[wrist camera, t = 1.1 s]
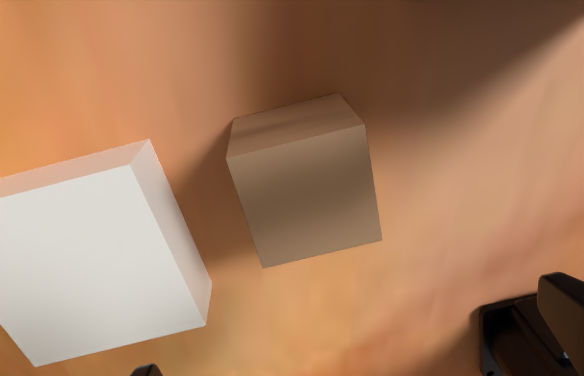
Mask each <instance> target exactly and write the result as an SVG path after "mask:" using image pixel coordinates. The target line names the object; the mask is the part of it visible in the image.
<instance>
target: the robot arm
mask: <svg viewBox="0 0 584 376" xmlns="http://www.w3.org/2000/svg"><path fill="white" fill-rule="evenodd" d="M479 328H480V372H481V374H482V375H483V376H584V282H583V281H581V280H579V279H576V278H574V277H572V276H569V275H567V274H565V273H562V272H554V273H549V274H545V275H542V276H540V278H539V281H538V294H535V295H531V296H526V297H522V298H518V299H513V300H509V301H505V302H500V303H496V304H491V305H487V306H484V307H483V308H482V309H481V310H480V312H479ZM130 376H163V375H162V373H161V371H160V370H159V368H158V366H157V365H156V364H147V365H143V366H139V367H137V368H136V369H135V370H134V371H133V372H132V373H131V375H130Z"/></svg>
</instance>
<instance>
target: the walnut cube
mask: <svg viewBox="0 0 584 376" xmlns="http://www.w3.org/2000/svg"><path fill="white" fill-rule="evenodd" d="M226 161H227V164H228V167H229V170H230V173H231V176H232V179H233V182H234V185H235V188H236V191H237V194H238V197H239V200H240V203H241V206H242V209H243V212H244V215H245V218H246V221H247V224H248V227H249V230H250V233H251V236H252V239H253V242H254V245H255V248H256V251H257V254H258V257H259V260H260V263H261V266H262V269H263V268H267V267H271V266H276V265H280V264H284V263H288V262H293V261H297V260H301V259H305V258H309V257H314V256H318V255H322V254H326V253H331V252H335V251H339V250H343V249H348V248H352V247H356V246H360V245H364V244H369V243H373V242H377V241H381V240H382V234H381V228H380V221H379V214H378V208H377V201H376V194H375V188H374V181H373V174H372V168H371V161H370V155H369V148H368V141H367V135H366V128H365V124H364V122H363V121H362V120H361V119H360V118H359V116H358V115H357V114H356V113H355V111H354V110H353V109H352V108H351V107H350V105H349V104H348V103H347V102H346V101H345V99H344V98H343V97H342V96H341V94H340V93H339V92H338V93H334V94H330V95H326V96H322V97H318V98H314V99H310V100H306V101H302V102H298V103H294V104H290V105H286V106H282V107H278V108H274V109H270V110H266V111H262V112H258V113H254V114H250V115H246V116H242V117H238V118H234V119H233V124H232V129H231V134H230V139H229V144H228V149H227V154H226Z"/></svg>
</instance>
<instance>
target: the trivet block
mask: <svg viewBox="0 0 584 376" xmlns="http://www.w3.org/2000/svg"><path fill="white" fill-rule="evenodd" d="M211 290H212V282H211V279H210V277H209V275H208V272H207V270H206V268H205V266H204V263H203V261H202V259H201V256H200V254H199V252H198V250H197V247H196V245H195V243H194V240H193V238H192V236H191V233H190V231H189V229H188V227H187V224H186V222H185V220H184V217H183V215H182V213H181V211H180V208H179V206H178V204H177V201H176V199H175V197H174V194H173V192H172V190H171V188H170V185H169V183H168V181H167V178H166V176H165V174H164V172H163V169H162V167H161V165H160V162H159V160H158V158H157V156H156V153H155V151H154V149H153V146H152V144H151V142H150V139H146V140H142V141H138V142H135V143H131V144H127V145H123V146H119V147H116V148H112V149H108V150H104V151H100V152H96V153H93V154H89V155H85V156H81V157H77V158H74V159H70V160H66V161H62V162H58V163H55V164H51V165H47V166H43V167H39V168H36V169H32V170H28V171H24V172H20V173H17V174H13V175H9V176H5V177H1V178H0V325H1V326H2V327H3V328H4V329H5V331H6V332H7V333H8V334H9V336H10V337H11V338H12V339H13V341H14V342H15V343H16V344H17V346H18V347H19V348H20V349H21V351H22V352H23V353H24V354H25V356H26V357H27V358H28V359H29V361H30V362H31V363H32V364H33V366H34V367H38V366H42V365H46V364H51V363H55V362H59V361H63V360H67V359H71V358H75V357H79V356H83V355H88V354H92V353H96V352H100V351H104V350H108V349H112V348H116V347H120V346H124V345H129V344H133V343H137V342H141V341H145V340H149V339H153V338H157V337H161V336H166V335H170V334H174V333H178V332H182V331H186V330H190V329H194V328H198V327H202V326H206V321H207V315H208V309H209V303H210V296H211Z"/></svg>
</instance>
